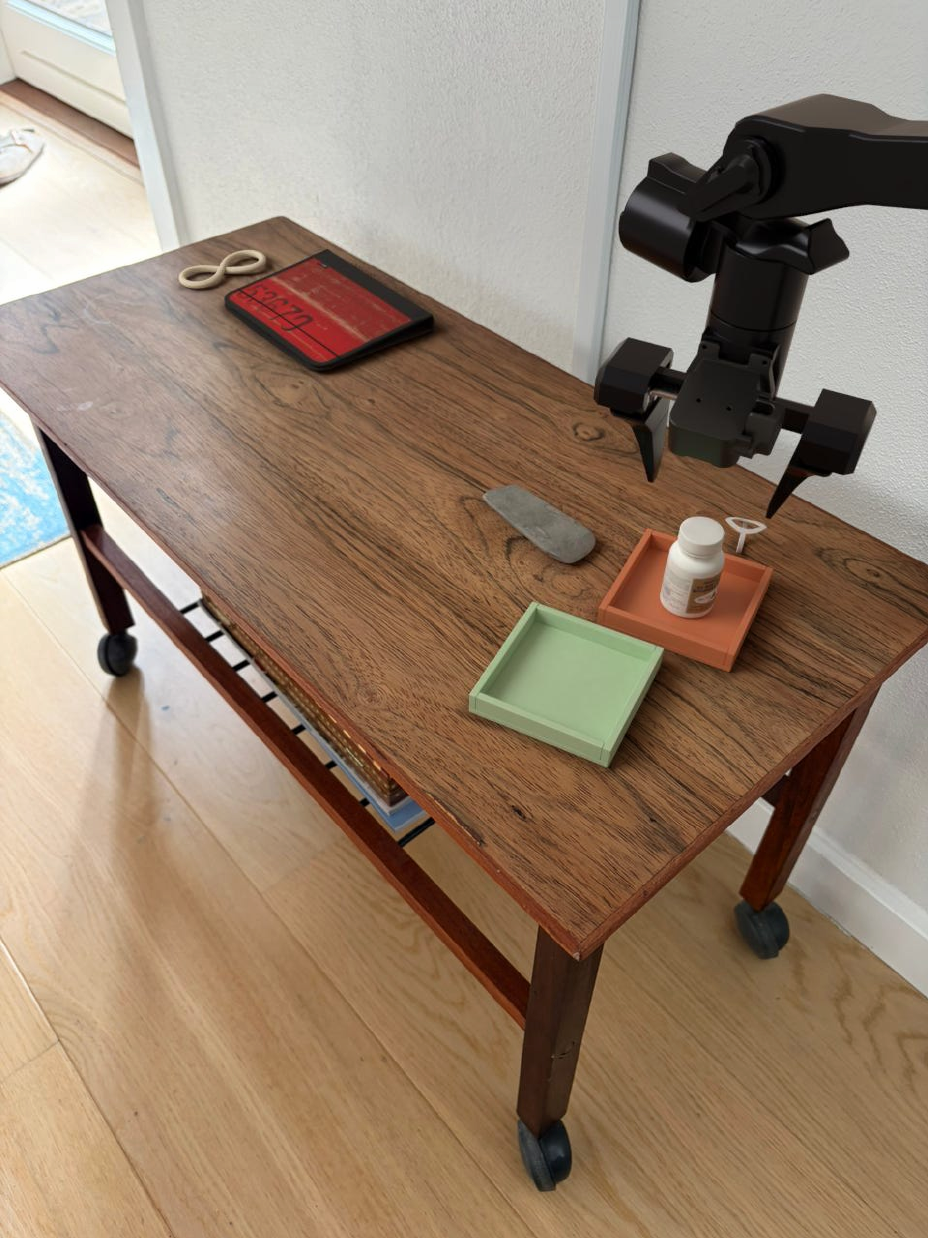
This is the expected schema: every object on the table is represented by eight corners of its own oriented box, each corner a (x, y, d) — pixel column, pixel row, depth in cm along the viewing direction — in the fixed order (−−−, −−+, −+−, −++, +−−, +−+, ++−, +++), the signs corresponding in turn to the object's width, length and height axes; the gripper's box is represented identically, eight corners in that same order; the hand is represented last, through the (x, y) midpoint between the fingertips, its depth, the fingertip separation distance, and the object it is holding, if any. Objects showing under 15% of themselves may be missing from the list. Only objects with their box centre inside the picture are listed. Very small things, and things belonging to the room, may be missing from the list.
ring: (737, 562, 88) (744, 535, 86) (718, 545, 90) (724, 518, 88) (760, 554, 89) (767, 527, 87) (740, 537, 91) (747, 510, 89)
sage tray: (660, 665, 80) (664, 648, 79) (607, 768, 73) (610, 751, 72) (531, 618, 84) (532, 600, 82) (468, 711, 77) (468, 694, 75)
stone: (604, 539, 89) (563, 562, 86) (601, 552, 90) (561, 575, 87) (512, 473, 95) (471, 493, 92) (510, 486, 96) (470, 506, 93)
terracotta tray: (768, 585, 87) (774, 568, 85) (729, 672, 80) (734, 655, 78) (644, 544, 90) (647, 527, 89) (596, 624, 83) (598, 607, 82)
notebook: (328, 246, 125) (435, 312, 114) (330, 263, 127) (436, 330, 116) (214, 291, 118) (317, 366, 107) (218, 309, 120) (320, 385, 109)
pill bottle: (697, 628, 82) (715, 556, 77) (649, 605, 84) (663, 533, 79) (722, 598, 85) (741, 526, 79) (675, 576, 87) (691, 504, 81)
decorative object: (274, 266, 126) (254, 251, 129) (272, 258, 125) (252, 243, 128) (191, 294, 121) (172, 278, 124) (189, 286, 120) (170, 270, 123)
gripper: (573, 330, 64) (554, 520, 75) (873, 409, 58) (805, 603, 70) (635, 258, 71) (610, 442, 82) (909, 322, 65) (842, 511, 77)
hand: (709, 497), depth 78 cm, fingers open, 9 cm apart
